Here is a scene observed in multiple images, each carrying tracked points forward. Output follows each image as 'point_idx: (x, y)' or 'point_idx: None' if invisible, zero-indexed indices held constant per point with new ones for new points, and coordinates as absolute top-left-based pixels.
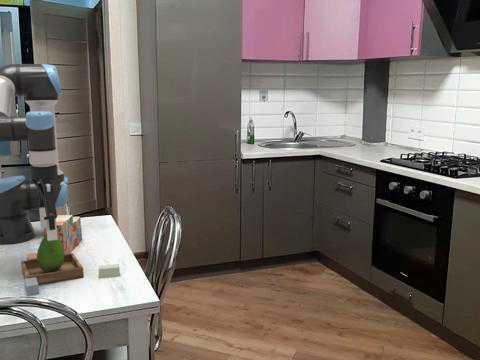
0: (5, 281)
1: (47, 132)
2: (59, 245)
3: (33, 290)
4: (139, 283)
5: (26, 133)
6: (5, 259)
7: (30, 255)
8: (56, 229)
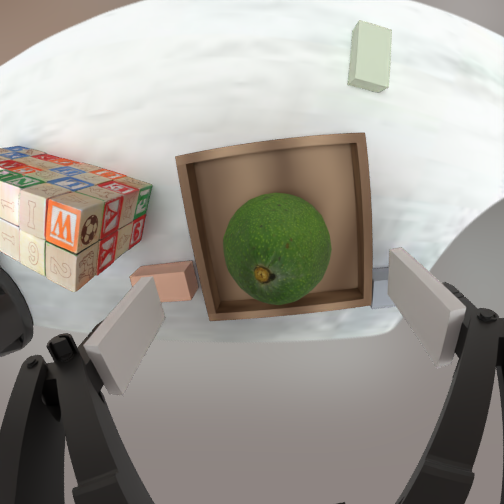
0: (288, 339)
1: None
2: (304, 221)
3: None
4: (443, 21)
5: None
6: None
7: None
8: (426, 272)
